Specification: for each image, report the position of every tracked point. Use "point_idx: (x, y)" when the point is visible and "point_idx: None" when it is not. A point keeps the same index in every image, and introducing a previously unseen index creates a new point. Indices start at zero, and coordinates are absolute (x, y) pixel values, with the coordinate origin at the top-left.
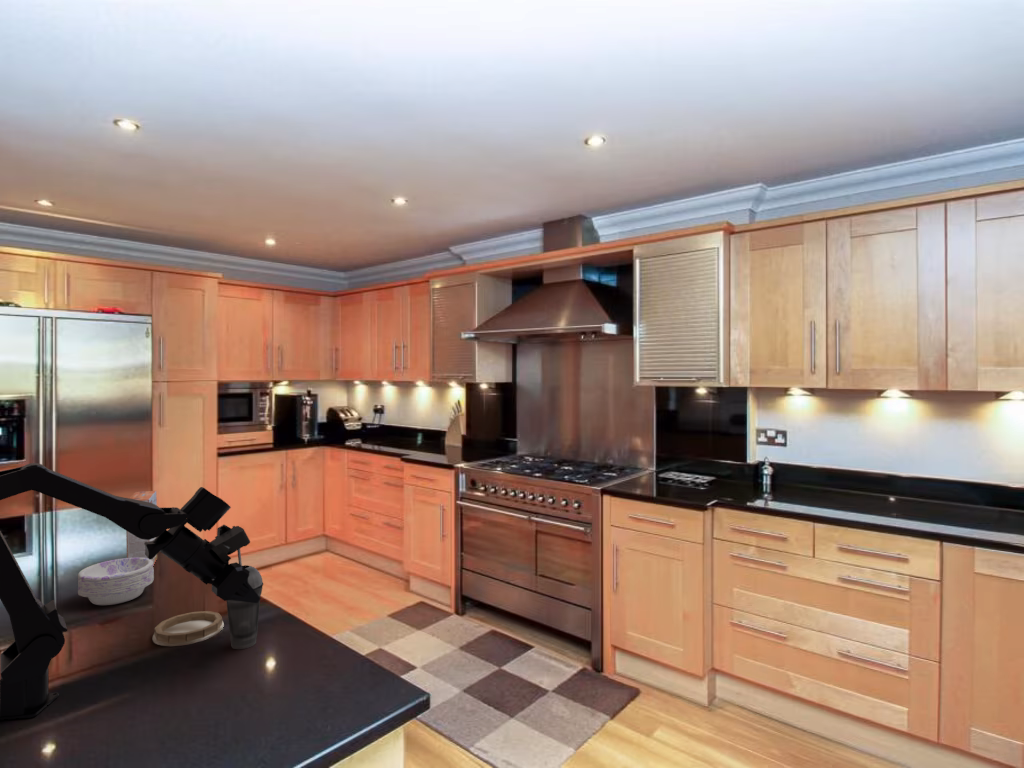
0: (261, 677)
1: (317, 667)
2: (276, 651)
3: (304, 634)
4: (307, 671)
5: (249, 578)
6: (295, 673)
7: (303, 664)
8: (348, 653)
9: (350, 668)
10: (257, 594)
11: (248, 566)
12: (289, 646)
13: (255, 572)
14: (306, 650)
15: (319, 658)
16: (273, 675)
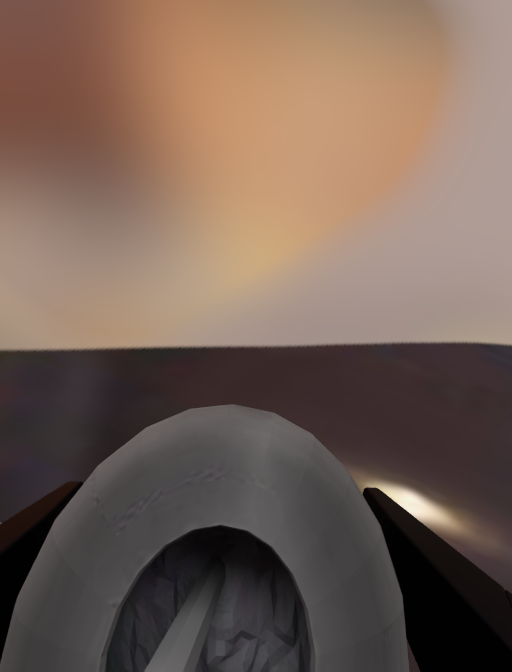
0: (489, 566)
1: (478, 420)
2: (341, 460)
3: (285, 365)
4: (491, 446)
5: (398, 583)
6: (493, 474)
7: (450, 437)
8: (434, 345)
9: (505, 373)
10: (412, 516)
11: (144, 501)
12: (331, 420)
13: (334, 477)
14: (377, 400)
15: (433, 397)
16: (487, 529)
